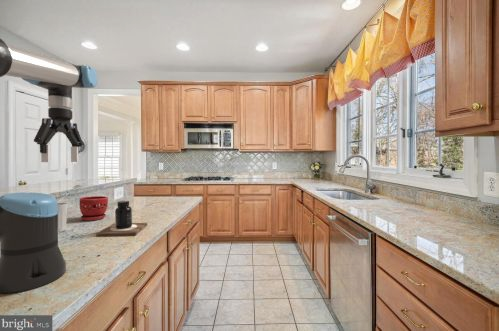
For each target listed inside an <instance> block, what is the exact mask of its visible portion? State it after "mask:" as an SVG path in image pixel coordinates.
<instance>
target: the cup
mask: <svg viewBox="0 0 499 331" xmlns="http://www.w3.org/2000/svg"><path fill="white" fill-rule="evenodd" d="M68 206H69V203H68V202H57V207H58V232H61V231H65V230H66V229H67V218H68Z"/></svg>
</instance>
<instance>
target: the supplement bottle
mask: <svg viewBox="0 0 499 331" xmlns="http://www.w3.org/2000/svg"><path fill="white" fill-rule="evenodd" d="M116 203H117V207H116V208H115V210H114V215H115V217H114V219H115V223H116V228H117V229H126V228H130V227H131V226H132V223H133V214H132V213H133V212H132V211H133V208H132V206H130V201H129V200H120V201H117V202H116Z"/></svg>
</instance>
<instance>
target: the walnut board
mask: <svg viewBox="0 0 499 331" xmlns="http://www.w3.org/2000/svg"><path fill="white" fill-rule="evenodd" d="M147 226H148V222H132V226H131V227H130V228H126V229H117V228H116V222H115V223H112V224H110V225H109V226H107V227H105V228H104V229H101V230H100V231H98V232H97V233H95V234H96V237H128V236H129V237H130V236H132V237H133V236H134V237H135V236H137V235H138V234H140V232H141V231H143V230H144V229H145V228H146V227H147Z"/></svg>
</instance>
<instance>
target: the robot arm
mask: <svg viewBox="0 0 499 331" xmlns="http://www.w3.org/2000/svg"><path fill="white" fill-rule="evenodd" d="M5 76H6V77H7V76H9V77H12V78H13V77H14V78H20V79H22V80H23V81H25V82H27V83H29V84H30V85H32V86H38V87H40V88H42V89H44V90H45V89H46V90H47V93H48V94H47V96H48V97H47V98H48V99H47V100H48V102H47V104H48V107H49V108H48V109H47V110H48V111H47V112H48V113H47V114H48V117H46V118H45V117H43V118H42V119H41V124H40V126H39V129H38V131H37V133H36V135H35V136H34V138H33V142H34V143H36V144H37V145H39V153H40V156H41V158H40V160H41V163H51V145H50V144H49V142H51V140H52V139H53V138H54V137H55V135H56V134H57V133H61V134H62V133H63V135H65V137H66V138H67V139H68V141H69V143H70V144H71V145H72V146H70V161H71V163H79V154H80V147H82V146H83V145H84V143H83V140H82V137H81V134H80V133H79V130H78V124H77V123H74V122H73V123H72V122H71V121H72V119H73V111H72V110H73V88H75V89H76V88H79V89H80V88H81V89H91V88H96V87H97V85H98V76H97V72H96V70H95V69H94V68H93V67H92V66H90V65H83V64H82V65H77V64H74V63H70V62H66V61H64V60H59V59H57V58H53V57H51V56H48V55H46V54H42V53H37V52H35V51H32V50H29V49H25V48H22V47H19V46H15V45H12V44H9V43H7V42H6V41H5V40H4V39H2V38H1V37H0V78H2V77H5ZM57 203H58V200H57V198H56V197H55V196H53V195H52V194H48V193H42V192H10V193H4V194H2V195H1V196H0V294H9V293H19V292H23V291H24V292H25V291H28V290H29V291H30V290H33V289H35V288H39V287H42V286H45V285H47V284H49V283H52V282H54V281H56V280H58V279H59V278H61V277H63V275H65V274H66V272H67V263H66V260H65V259H64V256H63V254H62V251H61V250H60V247H59V231H58V207H57Z"/></svg>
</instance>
